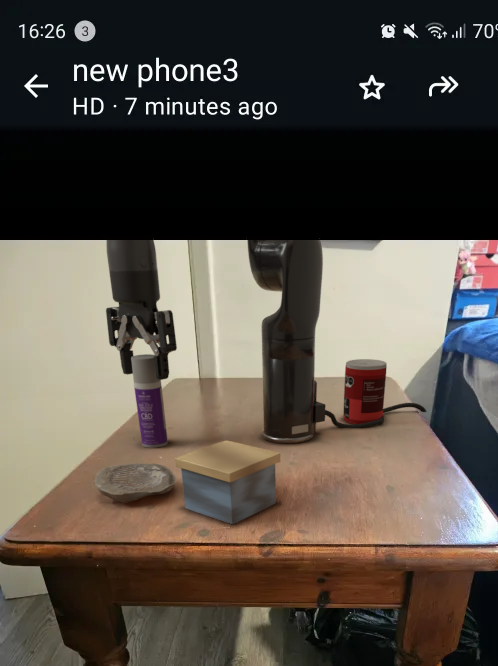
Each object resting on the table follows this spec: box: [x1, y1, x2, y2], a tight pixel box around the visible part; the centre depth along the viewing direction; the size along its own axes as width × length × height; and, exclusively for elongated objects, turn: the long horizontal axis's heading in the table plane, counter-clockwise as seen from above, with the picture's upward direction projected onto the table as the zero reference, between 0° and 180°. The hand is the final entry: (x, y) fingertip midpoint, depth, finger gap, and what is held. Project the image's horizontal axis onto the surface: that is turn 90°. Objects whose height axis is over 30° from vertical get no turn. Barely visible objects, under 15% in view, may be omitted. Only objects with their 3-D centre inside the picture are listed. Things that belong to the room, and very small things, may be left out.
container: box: [131, 353, 169, 449], centre depth 103 cm, size 5×5×15 cm
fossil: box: [94, 462, 177, 504], centre depth 85 cm, size 10×12×3 cm
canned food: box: [342, 358, 388, 425], centre depth 115 cm, size 8×8×11 cm
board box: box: [174, 439, 281, 525], centre depth 79 cm, size 10×10×7 cm
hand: (145, 376), depth 100 cm, fingers open, 8 cm apart
